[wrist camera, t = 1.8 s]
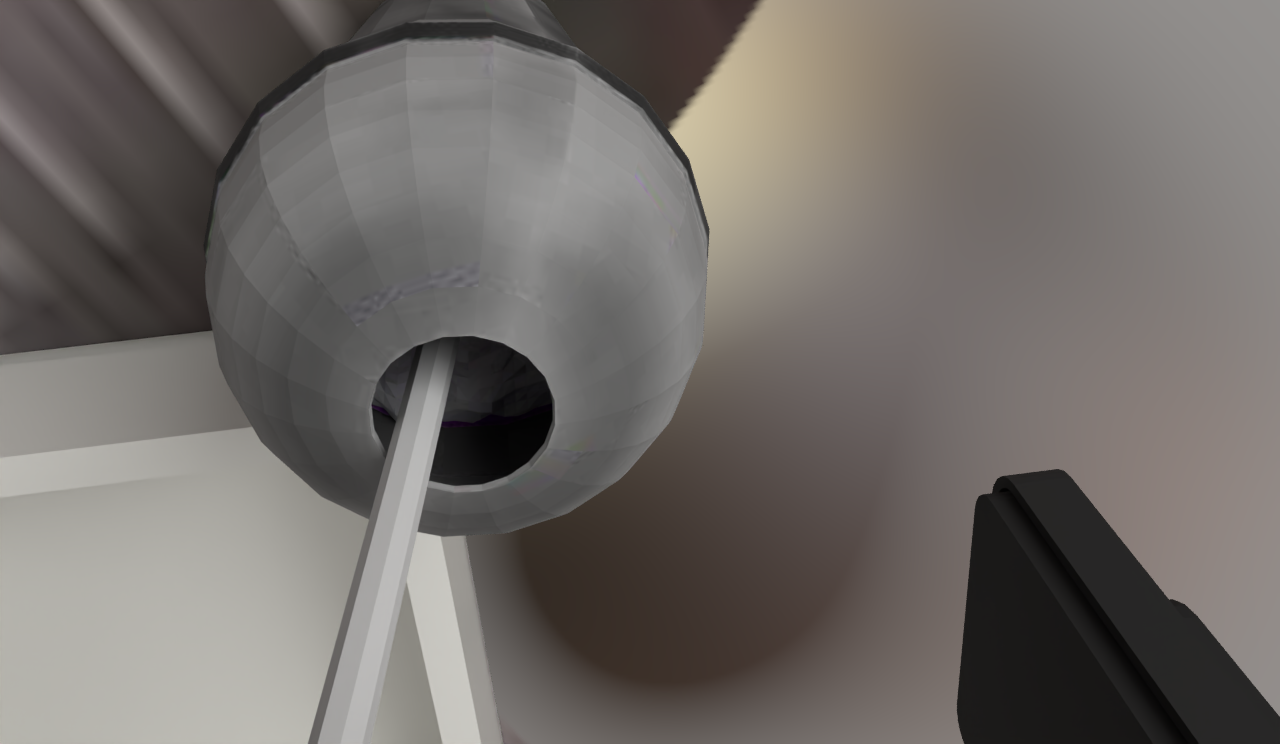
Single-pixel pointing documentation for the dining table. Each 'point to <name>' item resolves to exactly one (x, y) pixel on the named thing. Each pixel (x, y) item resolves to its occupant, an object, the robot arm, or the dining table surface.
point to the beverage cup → (451, 290)
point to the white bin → (195, 569)
